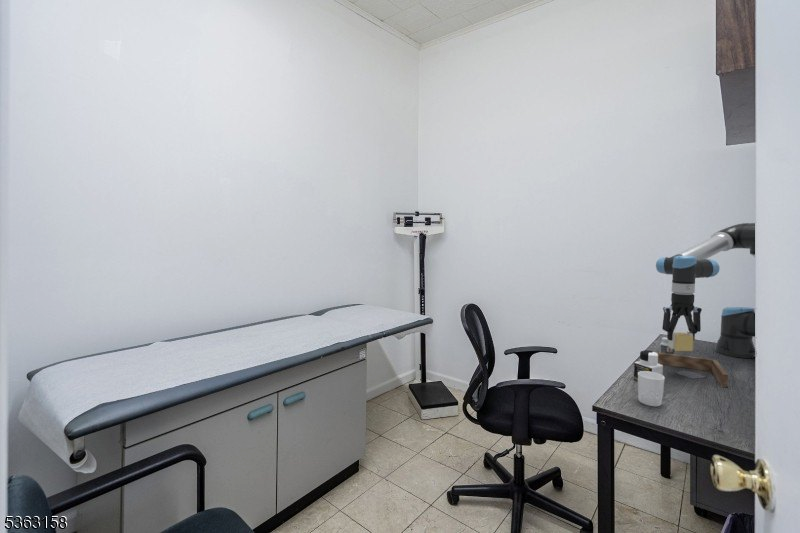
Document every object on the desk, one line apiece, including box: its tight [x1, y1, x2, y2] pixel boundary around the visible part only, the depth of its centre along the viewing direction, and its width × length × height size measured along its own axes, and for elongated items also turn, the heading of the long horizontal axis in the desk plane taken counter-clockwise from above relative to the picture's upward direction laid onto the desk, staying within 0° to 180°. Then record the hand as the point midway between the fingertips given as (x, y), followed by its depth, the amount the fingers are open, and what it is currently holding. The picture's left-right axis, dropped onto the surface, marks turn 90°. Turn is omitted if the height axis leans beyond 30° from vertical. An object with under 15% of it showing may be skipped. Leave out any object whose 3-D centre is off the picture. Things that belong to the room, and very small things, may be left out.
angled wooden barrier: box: [655, 351, 729, 388], centre depth 155 cm, size 22×20×5 cm
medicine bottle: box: [633, 349, 664, 381], centre depth 148 cm, size 7×7×12 cm
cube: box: [668, 332, 694, 352], centre depth 152 cm, size 6×6×6 cm
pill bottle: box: [659, 336, 676, 355], centre depth 174 cm, size 6×6×10 cm
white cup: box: [637, 371, 666, 407], centre depth 129 cm, size 8×8×10 cm
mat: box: [674, 370, 706, 380], centre depth 154 cm, size 10×10×1 cm
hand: (680, 347), depth 152 cm, fingers closed on cube, 6 cm apart
